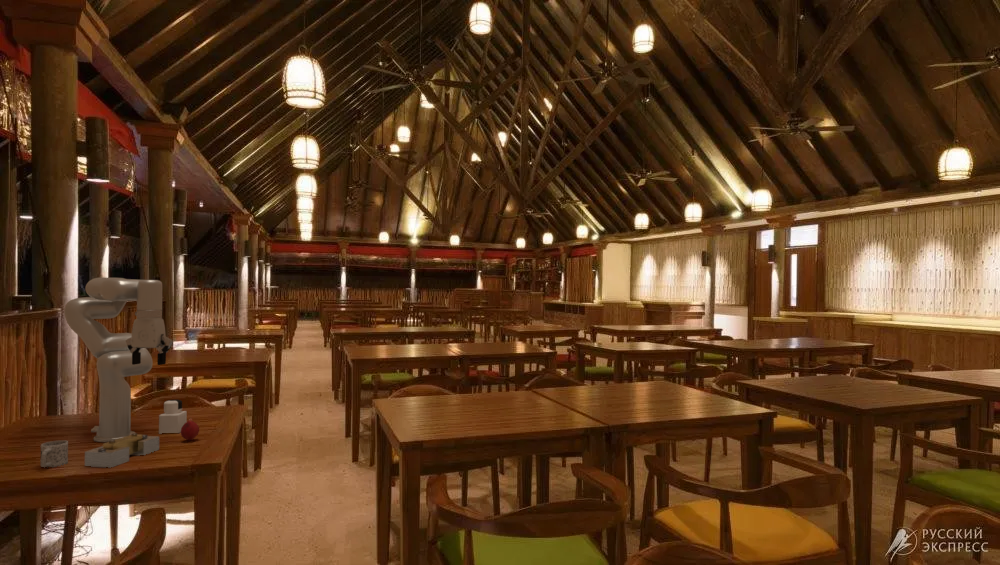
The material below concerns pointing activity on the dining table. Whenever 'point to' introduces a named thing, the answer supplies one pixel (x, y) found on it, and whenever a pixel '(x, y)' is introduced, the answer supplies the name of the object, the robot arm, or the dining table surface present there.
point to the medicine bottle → (172, 417)
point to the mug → (54, 453)
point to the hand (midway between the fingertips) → (148, 364)
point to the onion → (189, 430)
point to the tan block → (124, 443)
